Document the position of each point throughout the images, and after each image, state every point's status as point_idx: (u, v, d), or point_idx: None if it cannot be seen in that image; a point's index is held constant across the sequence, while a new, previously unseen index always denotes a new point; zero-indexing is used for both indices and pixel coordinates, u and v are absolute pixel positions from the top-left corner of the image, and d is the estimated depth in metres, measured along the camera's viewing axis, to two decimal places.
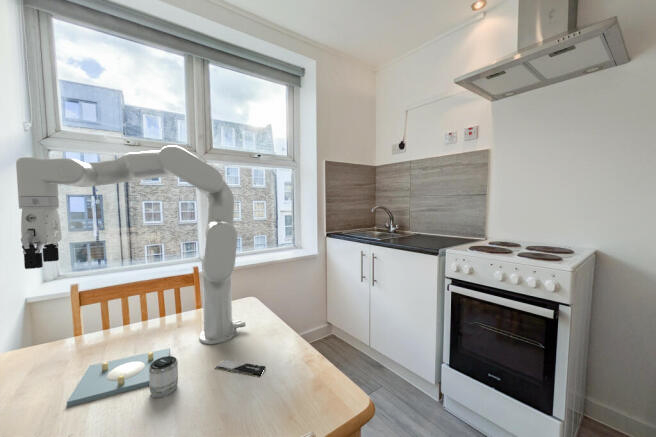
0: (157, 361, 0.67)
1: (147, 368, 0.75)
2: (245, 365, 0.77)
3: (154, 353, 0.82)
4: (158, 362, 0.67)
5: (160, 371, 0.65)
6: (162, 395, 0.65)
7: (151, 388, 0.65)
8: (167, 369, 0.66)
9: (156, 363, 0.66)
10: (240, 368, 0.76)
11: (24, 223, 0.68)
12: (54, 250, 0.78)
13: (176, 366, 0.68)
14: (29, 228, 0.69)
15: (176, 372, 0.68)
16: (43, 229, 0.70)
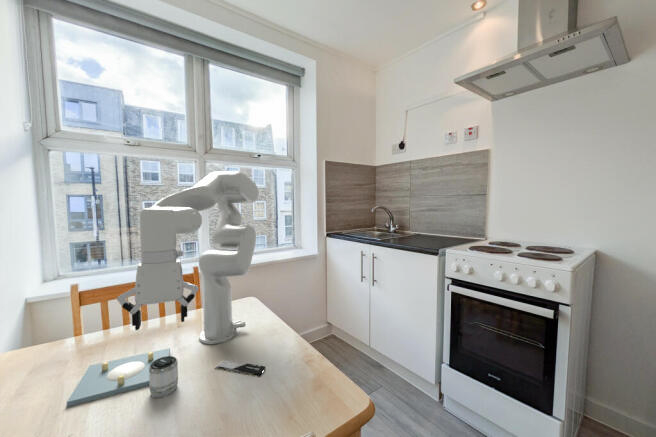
0: (157, 361, 0.67)
1: (147, 368, 0.75)
2: (245, 365, 0.77)
3: (154, 353, 0.82)
4: (158, 362, 0.67)
5: (160, 371, 0.65)
6: (162, 395, 0.65)
7: (151, 388, 0.65)
8: (167, 369, 0.66)
9: (156, 363, 0.66)
10: (240, 368, 0.76)
11: (181, 276, 0.67)
12: (140, 313, 0.65)
13: (176, 366, 0.68)
14: (182, 280, 0.68)
15: (176, 372, 0.68)
16: None
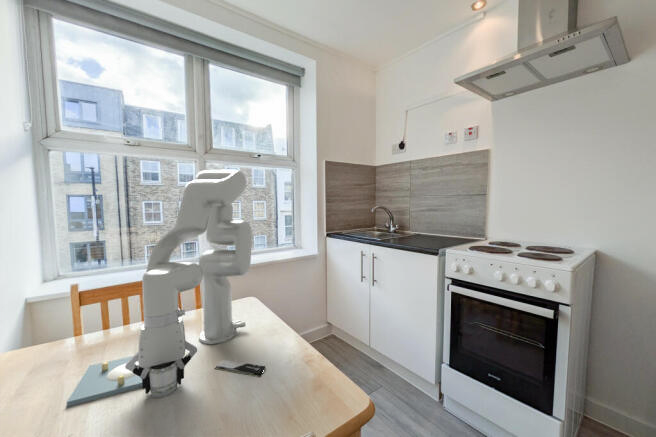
0: None
1: None
2: (245, 365, 0.77)
3: None
4: None
5: (160, 371, 0.65)
6: (162, 395, 0.65)
7: (151, 388, 0.65)
8: (167, 368, 0.66)
9: None
10: (240, 368, 0.76)
11: (183, 335, 0.68)
12: None
13: (176, 366, 0.68)
14: (184, 339, 0.69)
15: (176, 372, 0.68)
16: None
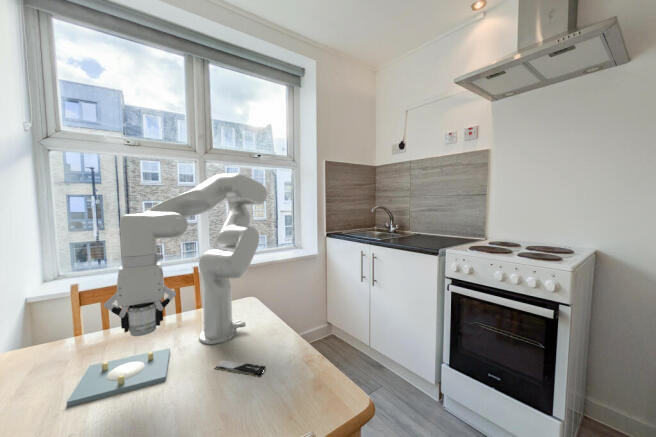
0: None
1: (147, 368, 0.75)
2: (245, 365, 0.77)
3: (154, 353, 0.82)
4: None
5: (139, 310, 0.67)
6: (141, 333, 0.68)
7: (130, 327, 0.67)
8: (146, 308, 0.68)
9: None
10: (240, 368, 0.76)
11: (162, 278, 0.71)
12: None
13: (155, 308, 0.71)
14: (163, 282, 0.72)
15: (155, 313, 0.70)
16: None
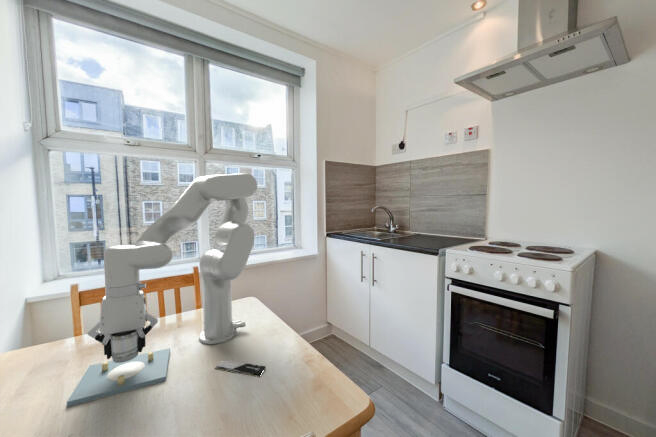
0: None
1: (147, 368, 0.75)
2: (245, 365, 0.77)
3: (154, 353, 0.82)
4: None
5: (120, 338, 0.70)
6: (122, 360, 0.71)
7: (112, 354, 0.71)
8: (127, 336, 0.71)
9: None
10: (240, 368, 0.76)
11: (144, 307, 0.74)
12: None
13: (137, 335, 0.74)
14: (145, 310, 0.75)
15: (137, 340, 0.74)
16: None
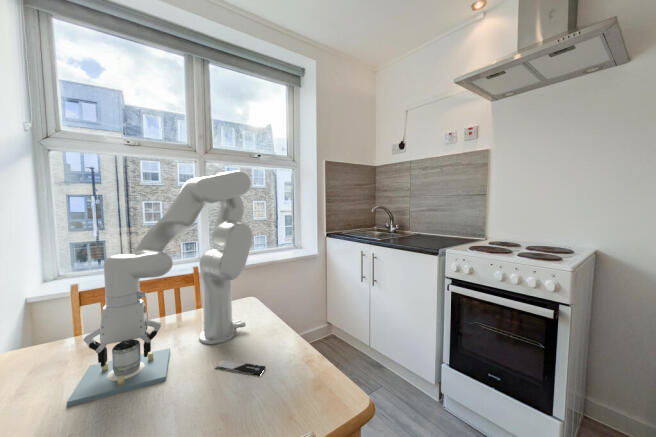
0: (120, 343, 0.73)
1: (147, 368, 0.75)
2: (245, 365, 0.77)
3: (154, 353, 0.82)
4: (121, 344, 0.73)
5: (122, 352, 0.71)
6: (124, 374, 0.71)
7: (114, 367, 0.71)
8: (129, 350, 0.72)
9: (119, 345, 0.73)
10: (240, 368, 0.76)
11: (144, 316, 0.74)
12: (106, 350, 0.72)
13: (138, 348, 0.74)
14: (145, 319, 0.75)
15: (138, 353, 0.74)
16: None
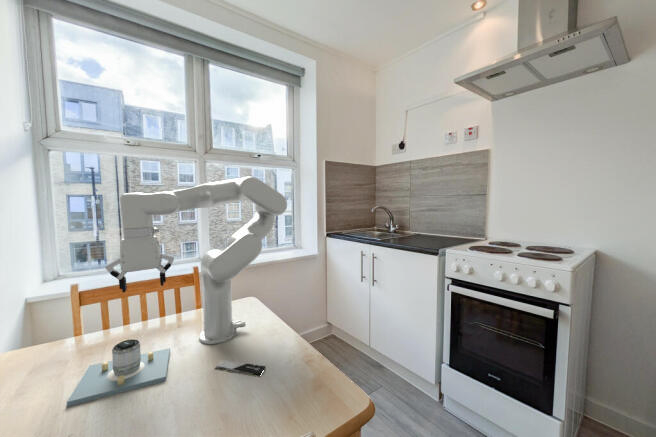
0: (120, 343, 0.73)
1: (147, 368, 0.75)
2: (245, 365, 0.77)
3: (154, 353, 0.82)
4: (121, 344, 0.73)
5: (122, 352, 0.71)
6: (124, 374, 0.71)
7: (114, 367, 0.71)
8: (129, 350, 0.72)
9: (119, 345, 0.72)
10: (240, 368, 0.76)
11: (158, 248, 0.82)
12: (125, 279, 0.80)
13: (138, 348, 0.74)
14: (159, 252, 0.83)
15: (138, 353, 0.74)
16: None
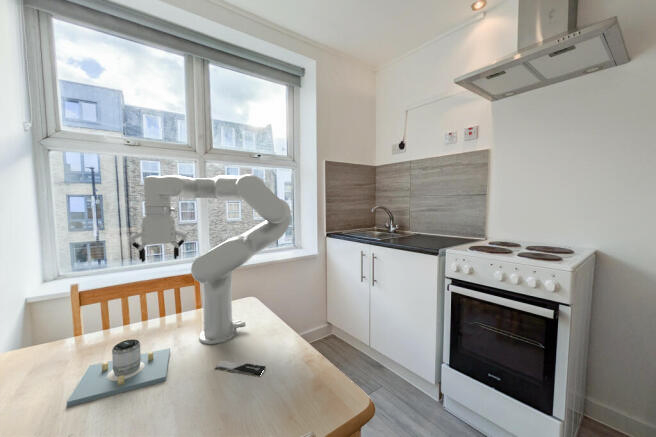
0: (120, 343, 0.73)
1: (147, 368, 0.75)
2: (245, 365, 0.77)
3: (154, 353, 0.82)
4: (121, 344, 0.73)
5: (122, 352, 0.71)
6: (124, 374, 0.71)
7: (114, 367, 0.71)
8: (129, 350, 0.72)
9: (119, 345, 0.73)
10: (240, 368, 0.76)
11: (174, 226, 0.94)
12: None
13: (138, 348, 0.74)
14: (174, 229, 0.95)
15: (138, 353, 0.74)
16: None
